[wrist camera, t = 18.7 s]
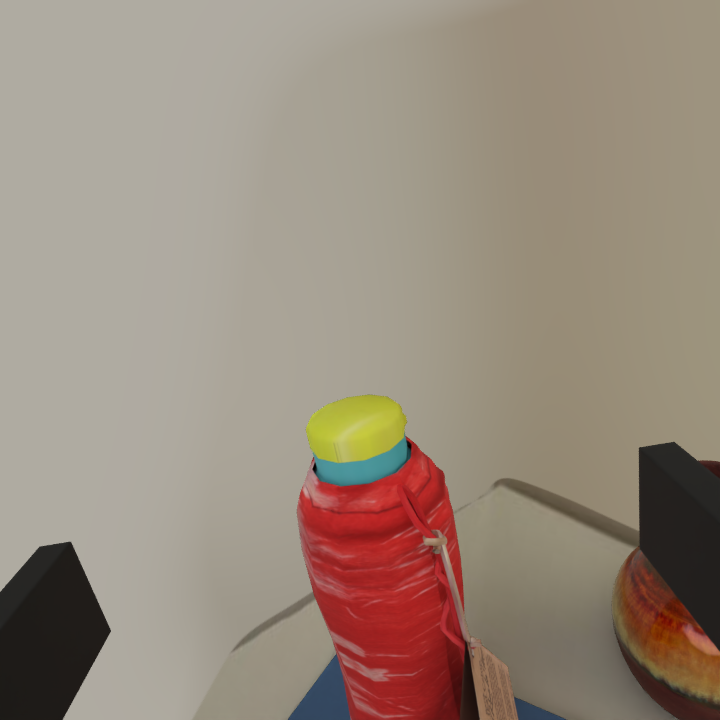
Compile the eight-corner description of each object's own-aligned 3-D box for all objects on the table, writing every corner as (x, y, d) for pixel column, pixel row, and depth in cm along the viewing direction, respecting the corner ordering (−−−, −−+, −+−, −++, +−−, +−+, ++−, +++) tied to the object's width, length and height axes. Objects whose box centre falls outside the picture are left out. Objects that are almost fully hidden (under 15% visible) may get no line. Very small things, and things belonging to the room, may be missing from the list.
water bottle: (587, 830, 27) (555, 407, 19) (492, 980, 23) (399, 515, 15) (427, 684, 36) (360, 361, 29) (338, 771, 32) (231, 418, 24)
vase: (866, 783, 27) (910, 548, 22) (635, 756, 30) (629, 545, 25) (766, 614, 37) (781, 426, 32) (600, 607, 40) (591, 435, 35)
